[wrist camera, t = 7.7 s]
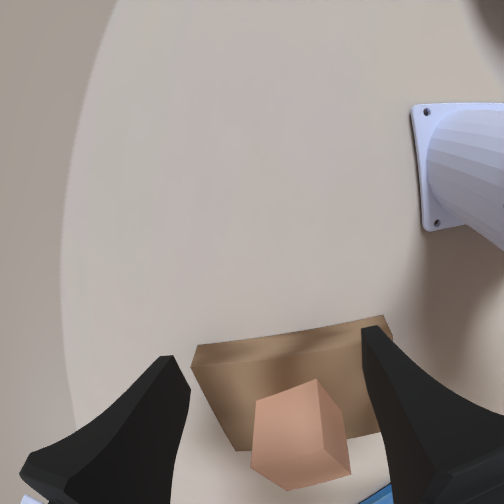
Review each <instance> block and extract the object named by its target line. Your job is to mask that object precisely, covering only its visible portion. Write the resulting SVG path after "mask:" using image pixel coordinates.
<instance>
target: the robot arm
mask: <svg viewBox="0 0 504 504" xmlns="http://www.w3.org/2000/svg"><path fill="white" fill-rule="evenodd" d="M424 109H426V110H427V111H428V115H427V116H425V115H424V113H423V110H424ZM410 114H411V119H412V125H413V132H414V138H415V146H416V153H417V162H418V171H419V181H420V193H421V209H422V225H423V228H424V229H425V230H426V231H428V232H432V231H436V230H441V229H446V228H451V227H456V226H461V225H465V224H466V225H468V226H469V227H471V228H472V229H474V230H475V231H476V232H478V233H479V234H481V235H482V236H484V237H485V238H486V239H488V240H489V241H490V242H492V243H493V244H495V245H496V246H497V247H499V248H500V249H501V250H503V251H504V103H438V104H419V105H414V106H412V107H411V110H410ZM437 219H438V223H437V224H436V225H434V222H435V220H437ZM361 345H362V369H363V374H364V379H365V383H366V388H367V392H368V395H369V398H370V401H371V404H372V407H373V410H374V413H375V416H376V419H377V422H378V425H379V428H380V431H381V434H382V437H383V441H384V445H385V450H386V455H387V461H388V467H389V473H390V480H391V487H392V496H393V504H504V416H503V415H500V414H497V413H494V412H492V411H490V410H487V409H485V408H483V407H480V406H478V405H476V404H474V403H472V402H470V401H469V400H467V399H465V398H463V397H461V396H459V395H457V394H456V393H454V392H453V391H451V390H449V389H448V388H446V387H445V386H443V385H442V384H441V383H439V382H438V381H436V380H435V379H434V378H432V377H431V376H430V375H429V374H427V373H426V372H425V371H424V370H423V369H421V368H420V367H419V366H418V365H417V364H416V363H414V362H413V361H412V360H411V359H410V358H409V357H408V356H407V355H406V354H405V353H404V352H403V351H402V350H401V349H400V348H399V347H398V346H397V345H396V344H395V343H394V342H393V341H392V340H391V339H390V338H389V337H388V336H387V335H386V334H385V332H384V331H383V330H382V329H381V328H380V327H379V326H378V325H374V326H370V327H365V328H361ZM190 393H191V389H190V387H189V385H188V383H187V381H186V379H185V377H184V376H183V374H182V372H181V370H180V368H179V366H178V364H177V362H176V360H175V358H174V356H173V355H170V356H160V357H159V358H158V359H156V360H155V361H154V362H153V363H152V364H151V366H150V367H149V368H148V369H147V370H146V371H145V372H144V373H143V374H142V375H141V376H140V377H139V378H138V379H137V380H136V381H135V382H134V383H133V384H132V385H131V387H130V388H129V389H128V390H127V391H126V392H125V393H124V394H122V395H121V396H120V397H119V398H118V399H117V400H116V401H115V402H114V403H113V404H112V405H111V406H110V407H109V408H108V409H106V410H105V411H104V412H103V413H102V414H100V415H99V416H98V417H96V418H95V419H94V420H93V421H91V422H90V423H88V424H87V425H85V426H84V427H82V428H81V429H79V430H78V431H76V432H75V433H73V434H71V435H70V436H68V437H66V438H64V439H62V440H60V441H58V442H57V443H54V444H52V445H50V446H47V447H45V448H42V449H40V450H38V451H35V452H32V453H30V454H29V456H28V458H27V460H26V462H25V464H24V466H23V467H22V469H21V471H20V473H19V475H20V477H21V478H22V480H23V481H24V482H25V483H27V484H28V485H29V486H30V487H31V488H33V489H34V490H35V491H37V492H38V493H39V494H41V495H42V496H43V497H45V498H46V499H47V500H49V503H48V504H170V498H171V487H172V478H173V470H174V464H175V459H176V454H177V451H178V447H179V444H180V440H181V436H182V433H183V429H184V426H185V422H186V418H187V414H188V410H189V403H190ZM20 504H44V503H42V502H40V501H38V500H36V499H34V498H32V497H30V496H28V495H24V497H23V499H22V501H21V503H20Z"/></svg>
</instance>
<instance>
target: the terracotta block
mask: <svg viewBox="0 0 504 504" xmlns="http://www.w3.org/2000/svg"><path fill="white" fill-rule="evenodd" d="M251 468H252V469H253V470H255V471H256V472H258V473H260V474H261V475H263V476H264V477H266V478H267V479H269V480H270V481H272V482H274V483H275V484H277V485H278V486H280V487H282V488H283V489H285V490H287V491H288V490H293V489H298V488H302V487H307V486H311V485H315V484H319V483H323V482H326V481H330V480H334V479H337V478H341V477H344V476H347V475H351V469H350V461H349V454H348V447H347V441H346V434H345V428H344V421H343V415H342V411H341V410H340V409H339V408H338V406H337V405H336V404H335V402H334V401H333V400H332V398H331V397H330V396H329V394H328V393H327V392H326V390H325V389H324V388H323V387H322V385H321V384H320V383H319V381H318V380H317V379H314V380H312V381H309V382H307V383H304V384H302V385H299V386H296V387H294V388H291V389H288V390H286V391H283V392H280V393H277V394H275V395H272V396H269V397H266V398H263V399H260V400H257V401H256V409H255V421H254V433H253V445H252V456H251Z"/></svg>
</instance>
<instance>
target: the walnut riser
mask: <svg viewBox="0 0 504 504" xmlns="http://www.w3.org/2000/svg"><path fill="white" fill-rule="evenodd" d="M374 325H378V326H379V327H380V328H381V329H382V330H383V331H384V332H385V334H386V335H387V336H388V337H389V338H390V339H391V340H392V341H393V335H392V333H391V331H390V329H389V326H388V324H387V322H386V320H385V318H384V316H383V315H380V316H375V317H371V318H366V319H361V320H357V321H352V322H347V323H342V324H337V325H332V326H326V327H321V328H316V329H310V330H304V331H298V332H292V333H286V334H280V335H274V336H267V337H260V338H253V339H246V340H238V341H230V342H222V343H213V344H204V345H198V346H197V349H196V352H195V355H194V358H193V361H192V364H191V369H192V371H193V373H194V375H195V377H196V379H197V381H198V383H199V385H200V387H201V389H202V391H203V393H204V395H205V397H206V399H207V401H208V403H209V405H210V406H211V408H212V410H213V412H214V414H215V416H216V418H217V419H218V421H219V423H220V425H221V427H222V428H223V430H224V432H225V434H226V435H227V437H228V439H229V441H230V442H231V444H232V446H233V448H234V449H235V451H252V445H253V433H254V421H255V409H256V401H257V400H260V399H263V398H266V397H269V396H272V395H275V394H277V393H280V392H283V391H286V390H288V389H291V388H294V387H296V386H299V385H302V384H304V383H307V382H309V381H312V380H314V379H317V380H318V381H319V383H320V384H321V385H322V387H323V388H324V389H325V390H326V392H327V393H328V394H329V396H330V397H331V398H332V400H333V401H334V402H335V404H336V405H337V406H338V408H339V409H340V410H341V411H342V415H343V421H344V428H345V434H346V439H350V438H355V437H360V436H365V435H369V434H374V433H378V432H381V431H380V428H379V425H378V422H377V419H376V416H375V413H374V410H373V407H372V404H371V401H370V398H369V395H368V392H367V388H366V383H365V379H364V374H363V369H362V345H361V328H365V327H370V326H374Z"/></svg>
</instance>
